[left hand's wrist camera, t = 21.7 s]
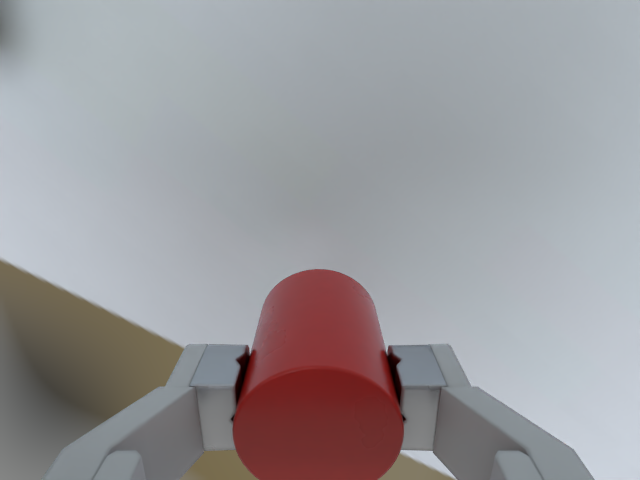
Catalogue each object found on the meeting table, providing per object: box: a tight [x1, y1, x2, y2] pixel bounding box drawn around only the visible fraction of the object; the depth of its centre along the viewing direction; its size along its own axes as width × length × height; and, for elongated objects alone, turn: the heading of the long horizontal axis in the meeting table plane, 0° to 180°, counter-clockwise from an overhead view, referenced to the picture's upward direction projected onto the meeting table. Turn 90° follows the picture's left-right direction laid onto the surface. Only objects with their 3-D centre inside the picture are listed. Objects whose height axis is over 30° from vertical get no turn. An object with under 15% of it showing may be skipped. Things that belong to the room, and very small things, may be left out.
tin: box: [232, 269, 404, 480], centre depth 10 cm, size 4×4×4 cm
